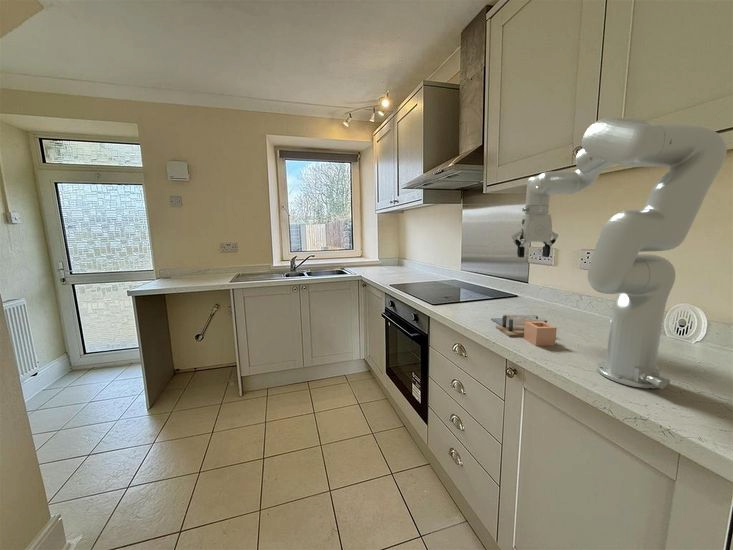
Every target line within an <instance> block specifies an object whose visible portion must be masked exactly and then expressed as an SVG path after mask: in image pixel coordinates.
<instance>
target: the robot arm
mask: <svg viewBox="0 0 733 550" xmlns="http://www.w3.org/2000/svg"><path fill="white" fill-rule="evenodd" d="M581 147H582V148H581V149H579V150H578V151H577V153H576V154H575V166H576V168H577V169H576V170H574V171H545V172H542V173H540V174H539V175H536V176H531V177H530V178H528V180H527V182H526V183H527V184H526V193H525V195H526V197H525V207H523V208H522V209H521V211H522V212H524V215H523V216H522V219H521V222H520V223H521V224H520V229H519V231H517V232H515V233H513V234H511V239H512V240H513V243H514V244H515V245H516V247H517V249H516V250H517V253H516V255H517V258H525V248H526V247H525V245H526V243H529V242H530V243H536V242H539V243H540V242H541V243H543V245H544V246H542V253H541V255H542V258H543V257H545V258H550V254H551V248H552V246H553V245H554V243H556V240H557V239H558V238H559V234H557V233H556V232H554V231H553V222H552V215H551V214H549V209H550V198H551V197H550V196H551V195H562V196H563V195H566V196H567V195H573V194H576V193H579V192H581V191H583V190H585V189H586V188H588V187H590V186H592V185H593V184H594V183H595V182H596V180H597V179H598V178H599V176H600V174H601V172H602V171H604V170H606V169H607V168H609V167H611V166H613V165H615V164H617V165H620V166H624V167H625V166H626V167H633V168H668V169H669V170H668V171H667V172H666V173H665V174H664V175H663V176H662V177H661V178H659V180H658V181H657V182H656V183H655V185H653V187H652V189H651V191H650V194H649V196H648V199H647V201H646V203H645V205H644V207H643V208H642V209H628V210H623V211H619V212H617V213H615V214H614V215H613V216H611V217H610V218H609V219H608V220H607V221H606V223H605V224H604V225H603V227H602V228H601V231H600V233H599V235H598V239H597V242H596V244H595V248H594V251H593V253H592V256H591V259H590V261H589V265H588V269H587V282H588V284H589V285H590V287H591V288H592V289H593V290H594V291H596V292H597V293H600V294H605V295H617V296H616V297H615V299H614V301H613V304H612V306H611V312H610V313H611V314H610V320H609V330H608V336H607V345H606V352H605V361H602V362H599V363H597V366H596V369H597V372H598V373H599V374H600V375H602V376H603V377H605V378H607V379H609V380H611V381H613V382H617V383H618V384H622V385H626V386H630V387H635V388H641V389H649V388H652V389H661V390H663V389H664V388H666V387H667V385H670V382H671V380H670V379H669V378H668V377H666V376H663V375H661V368H660V367H659V366H657V362H658V361H657V360H658V355H659V354H658V353H659V347H660V342H661V334H662V327H663V322H664V321H663V320H664V316H665V310H666V306H667V302H668V298H669V296H670V293H671V291H672V289H673V287H674V284H675V281H676V270H675V267H674V265H673V264H672V263H671V262H670V260H668V259H666V258H665V257H663V256H660V255H656V254H649V253H647V252H662V251H663V252H665V251H670V250H674V249H676V248H678V247H680V246H681V244H683V242H684V241H685V239H686V237H687V235H688V234H689V231H690V229H691V228H692V226H693V223H694V221H695V219H696V217H697V215H698V213H699V211H700V209H701V206H702V204H703V201H704V200H705V197H706V195H707V194H708V192H709V189H710V187H712V184H713V183H714V182H715V181H714V180H715V179H716V178H717V176H718V175H719V173H720V171H721V170H722V167H723V165H724V163H725V160H726V158H727V151H728V150H727V143H726V141H725V139H724V138H723V136H722V135H721V134H719V133H718V132H716V131H715V130H713V129H711V128H708V127H704V126H699V125H686V124H650V123H649V122H648V121H647V120H645V119H642V118H638V117H617V116H616V117H615V116H614V117H609V116H608V117H604V118H603V117H602V118H601V119H598V120H596V121H595V122H593V123H592V124H591V125H589V126H588V128H587V129H586V130H585V132H584V134H583V136H582V139H581ZM518 237H519V238H518ZM640 252H641V253H640ZM642 252H646V253H647V254H646V253H643V254H642Z"/></svg>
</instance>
